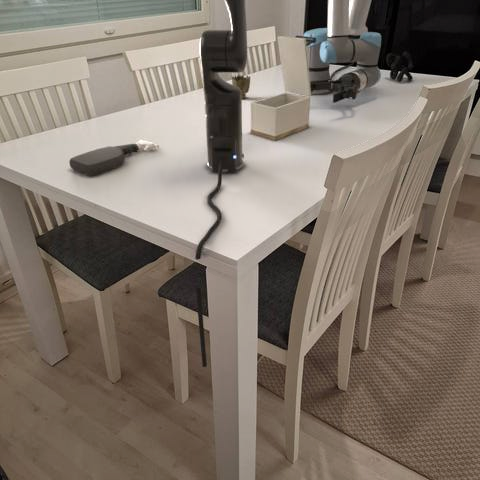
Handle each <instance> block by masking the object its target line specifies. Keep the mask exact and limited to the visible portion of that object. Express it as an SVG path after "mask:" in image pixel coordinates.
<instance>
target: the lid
mask: <svg viewBox="0 0 480 480" xmlns="http://www.w3.org/2000/svg"><path fill="white" fill-rule="evenodd" d="M276 38H277V44H278V52H279V59H280V66H281V73H282V80H283V88H284V93H285V92H286V93H291V94H296V95H301V96H305V97H311V96H312V94H311V87H310V77H309V67H308V56H307V46H308V45H310V44H311V43H316V38H315V37H306V36H303V35H295V36H294V37H293V36H283V35H278V36H277V37H276Z"/></svg>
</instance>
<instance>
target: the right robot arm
mask: <svg viewBox="0 0 480 480" xmlns="http://www.w3.org/2000/svg"><path fill="white" fill-rule="evenodd" d="M371 3H372V0H327V20H326V21H327V22H326V24H327V26H326V27H323V28H322V27H320V28H314V29H310V30H307V31H305V32H304V33H303V34H302V36H306V37H315V38H316V43H311V44H310V45H308V46H307V56H308V67H309V77H310V87H311V95H326V94H329V93H331V92H335V93H333V95H332V103H333V104H335V103H338V102H340V101H343V100H345V99H347V100H349V99H350V98H351V99H352V100H356V98H357V96H358V94H359V93H360V92H361V91H363V90H366V89H369V88H372V87H373V86H375V85H377V84H378V83H379V82H380V80H381V76H382V73H381V69H380V68H379V67H378V64H379V63H378V62H379V58H380V52H381V47H382V35H381V33H379V32H376V31H375V32H374V31H369V30H368V29H369V28H368V27H367V26H366V22H367V19H368V15H369V11H370V7H371ZM355 62H356V69H355V70H351V71H349V72H346V73H343V74H341V75H340V76H339V77H338V79H334V80H332V79H333V77H334V75H335V74H336V73H338V72H339V71H342V70H343V69H347V68H349V67H351V66H354V64H355ZM339 63H342V64H343V63H350V64H348V65H344V66H342V67H340V68H337V69H336V70H334V71H333V72H332V74H330V67H331V66H330V65H331V64H339Z"/></svg>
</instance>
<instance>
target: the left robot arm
mask: <svg viewBox="0 0 480 480" xmlns="http://www.w3.org/2000/svg"><path fill="white" fill-rule="evenodd" d="M223 3H224V5H225V7H226V11H227V12H228V16H229V20H230V21H229V22H230V26H231V29H207V30H204V31H203V32H202V33H201V35H200V38H199V58H200V61H199V62H200V68H201V77H202V78H201V79H202V91H203V98H204V100H203V101H204V116H205V117H204V118H205V133H206V134H205V135H206V151H207V152H206V153H207V168H208V169H209V170H211V172H212V173H217V176H218V177H217V183H216V186H215V188H214V189H213V190H212V191H211V192H210V193H209V194H208V196H207V197H206V198H207V205H209V206H210V208H212V210H213V211H214V212H215V213H216V216H217V218H216V220H215V222H214V223H213V224H212V225H211V227H210V228H209V229H208V230H207V232H206V234H205V235H204V236H203V237H202V238H201V239H200V241H199V242H198V245H197V246H196V247H197V248H196V251H195V256H194V257H195V259H194V260H197V261H198V260H200V259H201V255H202V250H203V247H204V245H205V243H206V242H207V241H208V240H209V239H210V237H211V235H212V234H213V233H214V231H215V230H216V229H217V228H218V226H219V225H220V223H221V222H222V218H223V217H222V212H221V210H220V209H219V208H218V207H217V205H215V204H214V202H213V201H212V198H213V197H214V196H215V195H216V194H217V193H218V192H219V190H220V188H221V186H222V181H223V180H222V179H223V173H237V171H239V170H240V169H242V168H243V166H244V160H243V159H245V154H244V153H243V114H242V113H243V109H242V108H243V106H242V105H243V104H242V103H243V102H242V101H243V100H242V99H243V98H242V94H241V90H240V89H239V88H238V87H236V86H234V85H232V83H229V82H227V81H225V80H224V79H223V78H222V77H221V76H220V75H219V73H220V74H241V73H243V72H244V71H245V70H246V68H247V63H248V34H247V33H248V32H247V31H248V30H247V9H246V0H223ZM202 295H203V294H202V288H200V287H198V286H196V300H197V301H196V305H197V306H196V307H197V317H198V319H197V320H198V331H199V340H200V351H201V365H202V367H203V368H207V367H208V364H207V350H206V338H205V327H204V315H203V298H202V297H203V296H202Z"/></svg>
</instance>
